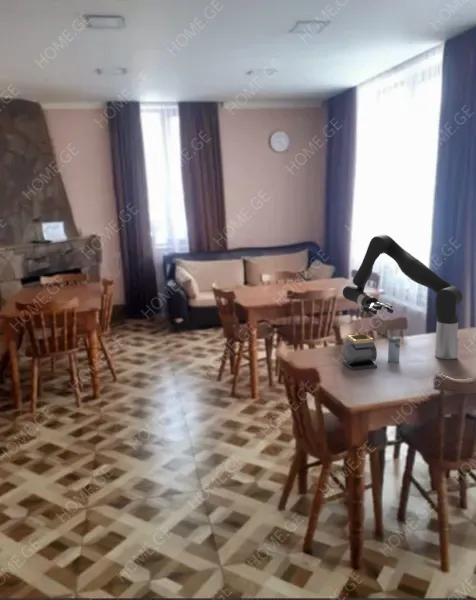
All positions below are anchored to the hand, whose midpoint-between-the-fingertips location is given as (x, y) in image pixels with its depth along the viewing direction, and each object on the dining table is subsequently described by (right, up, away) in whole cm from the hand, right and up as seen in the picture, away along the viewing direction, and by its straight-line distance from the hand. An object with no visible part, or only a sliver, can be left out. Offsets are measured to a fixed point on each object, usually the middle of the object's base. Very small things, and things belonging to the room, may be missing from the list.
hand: (384, 312), depth 240 cm
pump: (+3, -23, -5) cm, 23 cm away
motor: (-14, -24, -9) cm, 29 cm away
